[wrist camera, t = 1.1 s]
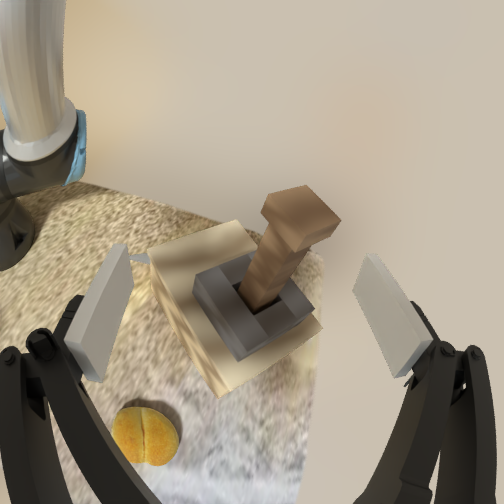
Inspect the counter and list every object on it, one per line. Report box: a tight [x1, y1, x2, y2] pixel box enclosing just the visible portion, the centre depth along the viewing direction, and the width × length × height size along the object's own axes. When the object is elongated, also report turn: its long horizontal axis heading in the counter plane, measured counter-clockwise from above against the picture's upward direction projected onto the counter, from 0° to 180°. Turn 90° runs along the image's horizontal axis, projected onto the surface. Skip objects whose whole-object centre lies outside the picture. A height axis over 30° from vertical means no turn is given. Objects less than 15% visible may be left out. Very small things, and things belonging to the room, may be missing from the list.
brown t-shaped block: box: [237, 185, 341, 316], centre depth 28 cm, size 4×4×17 cm
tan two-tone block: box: [147, 220, 323, 399], centre depth 37 cm, size 21×15×14 cm
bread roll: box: [111, 407, 179, 466], centre depth 27 cm, size 8×9×4 cm
